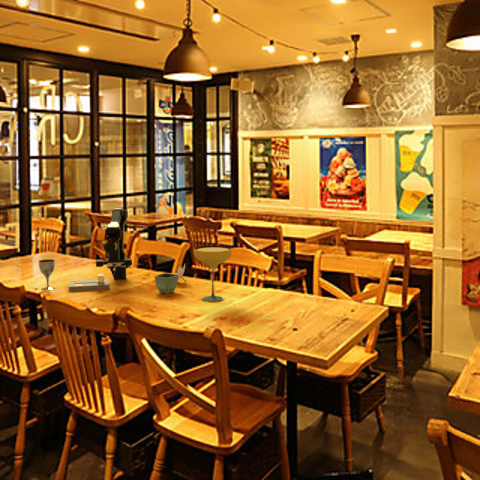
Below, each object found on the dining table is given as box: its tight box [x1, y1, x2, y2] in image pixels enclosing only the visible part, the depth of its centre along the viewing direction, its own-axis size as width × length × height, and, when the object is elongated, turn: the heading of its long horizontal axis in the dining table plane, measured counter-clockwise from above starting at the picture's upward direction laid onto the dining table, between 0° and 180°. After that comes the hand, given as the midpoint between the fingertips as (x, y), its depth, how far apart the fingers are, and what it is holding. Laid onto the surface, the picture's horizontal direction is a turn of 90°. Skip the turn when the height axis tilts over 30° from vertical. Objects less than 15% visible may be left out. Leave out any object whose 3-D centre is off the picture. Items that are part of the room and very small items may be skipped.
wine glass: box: [38, 258, 56, 291], centre depth 292 cm, size 8×8×15 cm
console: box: [68, 278, 110, 293], centre depth 296 cm, size 20×14×3 cm
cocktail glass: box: [193, 245, 232, 303], centre depth 271 cm, size 18×18×25 cm
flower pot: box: [154, 272, 179, 295], centre depth 286 cm, size 9×9×9 cm
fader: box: [97, 273, 105, 283], centre depth 297 cm, size 3×5×5 cm, turn 15°
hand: (114, 278), depth 299 cm, fingers closed
